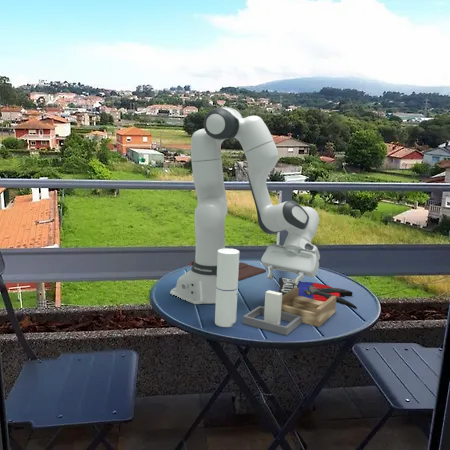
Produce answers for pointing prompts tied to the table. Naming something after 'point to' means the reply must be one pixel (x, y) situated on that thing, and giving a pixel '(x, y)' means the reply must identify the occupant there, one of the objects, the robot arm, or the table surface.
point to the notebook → (248, 271)
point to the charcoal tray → (284, 330)
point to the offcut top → (307, 301)
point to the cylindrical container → (226, 287)
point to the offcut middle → (304, 307)
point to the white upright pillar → (273, 307)
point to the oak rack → (307, 316)
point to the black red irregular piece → (315, 291)
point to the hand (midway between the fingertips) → (281, 281)
